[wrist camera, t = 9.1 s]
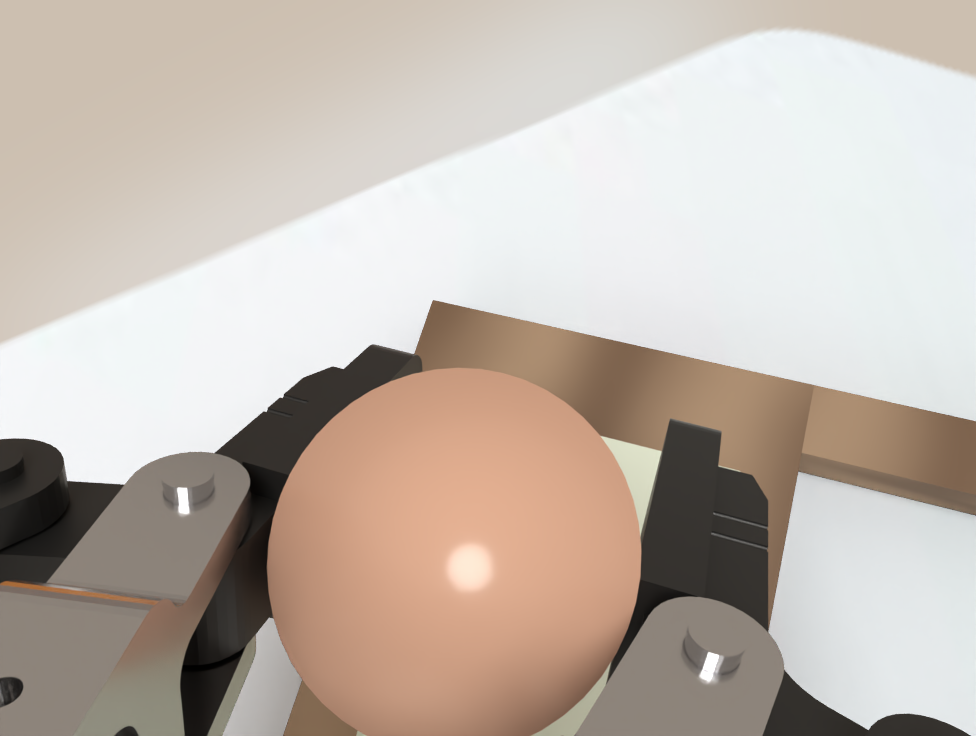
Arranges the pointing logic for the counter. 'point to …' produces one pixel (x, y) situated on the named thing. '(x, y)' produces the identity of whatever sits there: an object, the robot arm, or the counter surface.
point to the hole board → (706, 402)
